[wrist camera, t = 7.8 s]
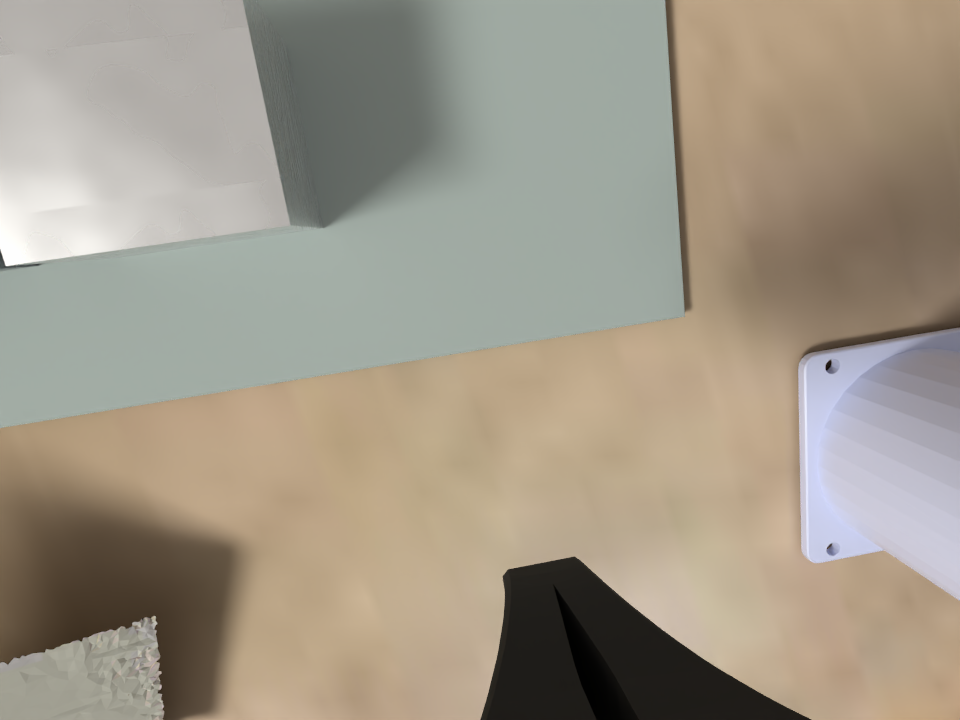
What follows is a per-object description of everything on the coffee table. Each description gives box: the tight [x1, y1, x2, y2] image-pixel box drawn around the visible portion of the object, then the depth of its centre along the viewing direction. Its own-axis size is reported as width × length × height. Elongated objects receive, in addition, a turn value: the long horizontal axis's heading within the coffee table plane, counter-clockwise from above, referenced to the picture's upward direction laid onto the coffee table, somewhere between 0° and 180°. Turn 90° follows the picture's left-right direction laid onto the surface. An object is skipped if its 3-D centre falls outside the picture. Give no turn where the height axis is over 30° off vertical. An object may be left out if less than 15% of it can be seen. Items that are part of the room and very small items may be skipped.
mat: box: [0, 0, 685, 428], centre depth 17 cm, size 22×12×1 cm, turn 98°
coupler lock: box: [0, 0, 323, 266], centre depth 14 cm, size 6×5×4 cm
